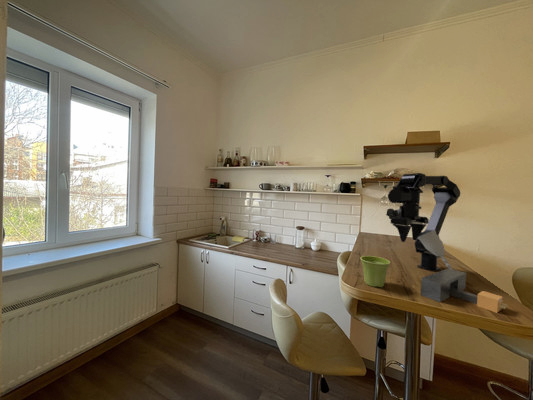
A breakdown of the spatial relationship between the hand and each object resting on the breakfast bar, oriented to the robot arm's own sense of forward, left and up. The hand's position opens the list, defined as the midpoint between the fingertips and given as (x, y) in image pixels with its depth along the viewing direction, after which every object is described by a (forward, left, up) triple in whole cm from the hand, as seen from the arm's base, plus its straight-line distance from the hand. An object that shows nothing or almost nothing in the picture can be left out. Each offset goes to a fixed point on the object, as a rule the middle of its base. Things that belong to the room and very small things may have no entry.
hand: (408, 240), depth 87 cm
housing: (+9, +16, -13) cm, 22 cm away
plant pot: (+25, +1, -13) cm, 28 cm away
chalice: (-6, +15, -12) cm, 20 cm away
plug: (+9, +21, -13) cm, 26 cm away
